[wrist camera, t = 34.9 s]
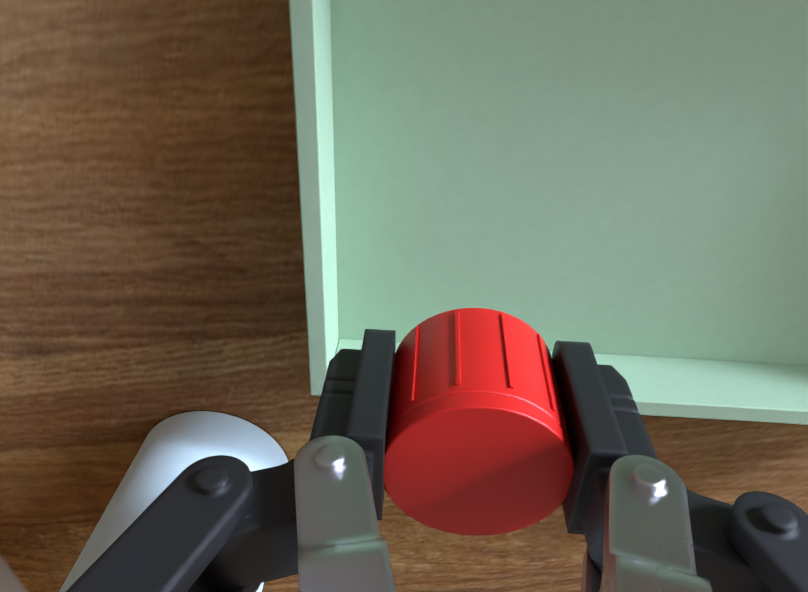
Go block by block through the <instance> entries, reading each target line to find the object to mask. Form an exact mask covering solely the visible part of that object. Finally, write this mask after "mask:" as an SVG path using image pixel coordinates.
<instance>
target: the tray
mask: <svg viewBox="0 0 808 592" xmlns="http://www.w3.org/2000/svg"><path fill="white" fill-rule="evenodd" d="M288 1H289V19H290V36H291V54H292V72H293V89H294V107H295V125H296V142H297V160H298V178H299V195H300V213H301V231H302V248H303V266H304V284H305V301H306V319H307V337H308V354H309V372H310V390H311V395H317V396H321V393H322V389H323V385H324V381H325V377H326V373H327V369H328V365H329V361H330V360H331V359H332V358H333V357H334V356H335V355H336V354H337V353H338V352H339V351H340V350H341V349H358V350H361V348H362V343H363V338H364V332H365V329H378V330H395V331H396V346H395V352H396V350H397V348H398V346H399V344H400V343H401V341H402V340H403V339H404V337H405V336H406V335H407V334H408V333H409V332H410V331H411V330H412V329H413V328H414V327H416V326H417V325H418V324H420V323H421V322H423V321H424V320H426V319H428V318H430V317H432V316H434V315H436V314H439V313H442V312H446V311H450V310H454V309H461V308H485V309H492V310H497V311H501V312H504V313H507V314H510V315H512V316H514V317H516V318H518V319H520V320H522V321H523V322H525V323H526V324H528V325H529V326H531V327H532V328H533V329H534V330H535V331H536V332H537V333H538V334H540V335H541V337H542V339H543V340H544V342H545V343H546V345H547V346H548V349H549V351H550V354H551V357H552V352H553V347H554V344H555V342H556V341H573V342H589V343H590V345H591V347H592V350H593V353H594V356H595V358H596V361H597V364H600V365H612V366H613V367H614V368H615V369H616V370H617V371H618V372H619V373H620V374H621V375H622V376H623V377H624V378H625V379H626V381H627V383H628V386H629V388H630V391H631V393H632V396H633V400H634V401H635V403H636V406H637V408H638V413H640V415H652V416H669V417H686V418H703V419H719V420H736V421H753V422H770V423H786V424H803V425H808V0H288Z"/></svg>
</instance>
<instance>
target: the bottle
mask: <svg viewBox="0 0 808 592" xmlns="http://www.w3.org/2000/svg"><path fill="white" fill-rule="evenodd" d="M216 455H226V456H232V457H235V458H238V459H240V460H242V461H243V462H244V463H245V464H246V465H247V466H248V467H249V469H250V471H256V470H261V469H266V468H271V467H275V466H279V465H282V464H284V463H287V462H288V459H287V457H286V455H285V453H284V451H283V450H282V448H281V447H280V446H279V444H278V443H277V442H276V441H275V440H274V439H273V438H272V437H271V436H270V435H269V434H267V433H266V432H265V431H263V430H262V429H260V428H259V427H257V426H256V425H254V424H252V423H250V422H248V421H246V420H243V419H241V418H238V417H235V416H232V415H228V414H224V413H219V412H210V411H193V412H185V413H181V414H177V415H174V416H172V417H169V418H167V419H165V420H163V421H162V422H160V423H159V424H158V425H156V426H155V427H154V428H153V429H152V430H151V431H150V432H149V434H148V435H147V437H146V439H145V441H144V442H143V444H142V446H141V448H140V449H139V451H138V453H137V455H136V456H135V458H134V460H133V462H132V464H131V465H130V467H129V469H128V471H127V472H126V474H125V476H124V478H123V479H122V481H121V483H120V485H119V487H118V488H117V490H116V492H115V494H114V495H113V497H112V499H111V501H110V503H109V504H108V506H107V508H106V510H105V511H104V513H103V515H102V517H101V518H100V520H99V522H98V524H97V526H96V527H95V529H94V531H93V533H92V534H91V536H90V538H89V540H88V542H87V543H86V545H85V547H84V549H83V550H82V552H81V554H80V556H79V557H78V559H77V561H76V563H75V565H74V566H73V568H72V570H71V572H70V573H69V575H68V577H67V579H66V580H65V582H64V584H63V586H62V588H61V589H60V591H59V592H66V591H67V590H68V589H69V588H70V587H71V586H72V584H73V583H74V582H75V581H76V580H77V579H78V578H79V577H80V576H81V575H82V574H83V573H84V572H85V571H86V570H87V569H88V568H89V567H90V566H91V565H92V564H93V563H94V562H95V561H96V560H97V559H98V558H99V557H100V556H101V555H102V554H103V553H104V552H105V551H106V549H107V548H108V547H109V546H110V545H111V544H112V543H113V542H114V541H115V540H116V539H117V538H118V537H119V536H120V535H121V534H122V533H123V532H124V531H125V530H126V529H127V528H128V527H129V526H130V525H131V524H132V523H133V522H134V521H135V520H136V519H137V518H138V517H139V515H140V514H141V513H142V512H143V511H144V510H145V509H146V508H147V507H148V506H149V505H150V504H151V503H152V502H153V501H154V500H155V499H156V498H157V497H158V496H159V495H160V494H161V493H162V492H163V491H164V490H165V489H166V488H167V487H168V486H169V485H170V484H171V483H172V482H173V480H174V479H175V478H176V477H177V476H178V475H179V474H180V473H181V472H182V471H183V470H184V469H186V468H187V467H188V466H189V465H191V464H192V463H194V462H196V461H198V460H200V459H203V458H206V457H210V456H216ZM263 584H264V582H263V583H261V585H260V586H259V588H258V590H257V591H256V592H262V588H263Z"/></svg>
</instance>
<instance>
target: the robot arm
mask: <svg viewBox="0 0 808 592" xmlns="http://www.w3.org/2000/svg"><path fill="white" fill-rule="evenodd" d="M395 346H396V331H395V330H378V329H365V332H364V338H363V343H362V348H361V350H358V349H341V350H340V351H339V352H338V353H337V354H336V355H335V356H334V357H333V358H332V359H331V360H330V361H329V365H328V369H327V373H326V377H325V381H324V385H323V389H322V393H321V397H320V401H319V405H318V409H317V413H316V417H315V421H314V424H313V428H312V432H311V436H310V440H309V442H308V443H306V444H305V445H304V446H302V447H301V448H300V450H299V451H298V452H297V454H296V456H295V458H294V459H292V460H291V461H289V462H287V463H284V464H282V465H279V466H275V467H271V468H266V469H261V470H256V471H250V469H249V467H248V466H247V465H246V464H245V463H244V462H243V461H242V460H240V459H238V458H235V457H232V456H226V455H216V456H210V457H206V458H203V459H200V460H198V461H196V462H194V463H192V464H191V465H189V466H188V467H187V468H186V469H184V470H183V471H182V472H181V473H180V474H179V475H178V476H177V477H176V478H175V479H174V480H173V482H172V483H171V484H170V485H169V486H168V487H167V488H166V489H165V490H164V491H163V492H162V493H161V494H160V495H159V496H158V497H157V498H156V499H155V500H154V501H153V502H152V503H151V504H150V505H149V506H148V507H147V508H146V509H145V510H144V511H143V512H142V513H141V514H140V515H139V517H138V518H137V519H136V520H135V521H134V522H133V523H132V524H131V525H130V526H129V527H128V528H127V529H126V530H125V531H124V532H123V533H122V534H121V535H120V536H119V537H118V538H117V539H116V540H115V541H114V542H113V543H112V544H111V545H110V546H109V547H108V548H107V549H106V551H105V552H104V553H103V554H102V555H101V556H100V557H99V558H98V559H97V560H96V561H95V562H94V563H93V564H92V565H91V566H90V567H89V568H88V569H87V570H86V571H85V572H84V573H83V574H82V575H81V576H80V577H79V578H78V579H77V580H76V581H75V582H74V583H73V584H72V586H71V587H70V588H69V589H68V590H67V591H66V592H256V591H257V590H258V588H259V586H260V585H261V583H263V582H267V581H271V580H275V579H279V578H283V577H287V576H291V575H295V574H298V575H299V592H396V589H395V584H394V578H393V573H392V568H391V563H390V558H389V553H388V548H387V544H386V541H385V539H384V538H381V536H380V531H379V526H378V520H381V519H382V509H383V499H384V489H385V487H384V466H385V446H386V438H387V427H388V417H389V407H390V397H391V387H392V377H393V367H394V357H395ZM551 358H552V362H553V367H554V372H555V376H556V381H557V385H558V390H559V395H560V399H561V404H562V408H563V413H564V417H565V422H566V426H567V430H568V435H569V439H570V445H571V450H572V455H573V459H574V464H575V467H574V472H573V476H572V479H571V483H570V486H569V490H568V493H567V496H566V499H565V500H564V501H563V502H562V506H563V511H564V515H565V520H566V525H567V530H568V533H572V534H585V538H586V542H587V549H586V553H585V556H584V560H583V572H582V590H581V592H808V515H807V514H806V513H805V512H804V511H803V510H801V509H800V508H799V507H797V506H796V505H795V504H793V503H791V502H790V501H788V500H786V499H784V498H782V497H780V496H777V495H774V494H770V493H766V492H759V491H755V492H747V493H744V494H742V495H741V496H739V497H738V498H737V499H736V501H735V503H734V505H730V504H727V503H724V502H720V501H717V500H714V499H711V498H708V497H704V496H702V495H699V494H696V493H694V492H692V491H690V490H688V489H686V487H685V484H684V482H683V480H682V479H681V477H680V476H679V475H678V474H677V473H676V472H675V471H674V470H673V469H672V468H671V467H669V466H668V465H666V464H665V463H663V462H661V461H659V460H658V458H657V455H656V453H655V450H654V448H653V445H652V443H651V440H650V438H649V435H648V433H647V430H646V428H645V425H644V423H643V420H642V418H641V416H640V413H638V408H637V406H636V403H635V401H634V400H633V396H632V393H631V391H630V388H629V386H628V383H627V381H626V379H625V378H624V377H623V376H622V375H621V374H620V373H619V372H618V371H617V370H616V369H615V368H614V367H613V366H612V365H600V364H597V361H596V358H595V356H594V353H593V350H592V347H591V345H590V343H589V342H573V341H556V342H555V344H554V347H553V352H552V357H551Z"/></svg>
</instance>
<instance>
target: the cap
mask: <svg viewBox="0 0 808 592" xmlns="http://www.w3.org/2000/svg"><path fill="white" fill-rule="evenodd" d="M574 467H575V464H574V459H573V455H572V450H571V445H570V439H569V435H568V430H567V426H566V422H565V417H564V413H563V408H562V404H561V399H560V395H559V390H558V385H557V381H556V376H555V372H554V367H553V362H552V358H551V354H550V351H549V349H548V346H547V345H546V343H545V342H544V340H543V339H542V337H541V335H540V334H538V333H537V332H536V331H535V330H534V329H533V328H532V327H531V326H529V325H528V324H526V323H525V322H523V321H522V320H520V319H518V318H516V317H514V316H512V315H510V314H507V313H504V312H501V311H497V310H492V309H485V308H461V309H454V310H450V311H446V312H442V313H439V314H436V315H434V316H432V317H430V318H428V319H426V320H424V321H423V322H421V323H420V324H418V325H417V326H416V327H414V328H413V329H412V330H411V331H410V332H409V333H408V334H407V335H406V336H405V337H404V339H403V340H402V341H401V343H400V344H399V346H398V348H397V350H396V352H395V357H394V367H393V377H392V387H391V397H390V407H389V417H388V427H387V438H386V446H385V466H384V487H385V489H386V492H387V494H388V495H389V497H390V498H391V500H392V501H393V502H394V503H395V504H396V505H397V506H398V508H399V509H401V510H402V511H403V512H404V513H406V514H407V515H408V516H410V517H411V518H413V519H415V520H416V521H418V522H420V523H422V524H424V525H427V526H429V527H432V528H435V529H438V530H442V531H445V532H450V533H455V534H463V535H494V534H502V533H507V532H511V531H515V530H519V529H522V528H525V527H527V526H530V525H532V524H534V523H536V522H538V521H540V520H542V519H544V518H545V517H547V516H548V515H550V514H551V513H552V512H553V511H555V510H556V509H557V508H558V507H559V506H560V505H561V504H562V502H563V501H564V500H565V499H566V496H567V493H568V490H569V486H570V483H571V479H572V476H573V472H574Z"/></svg>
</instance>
